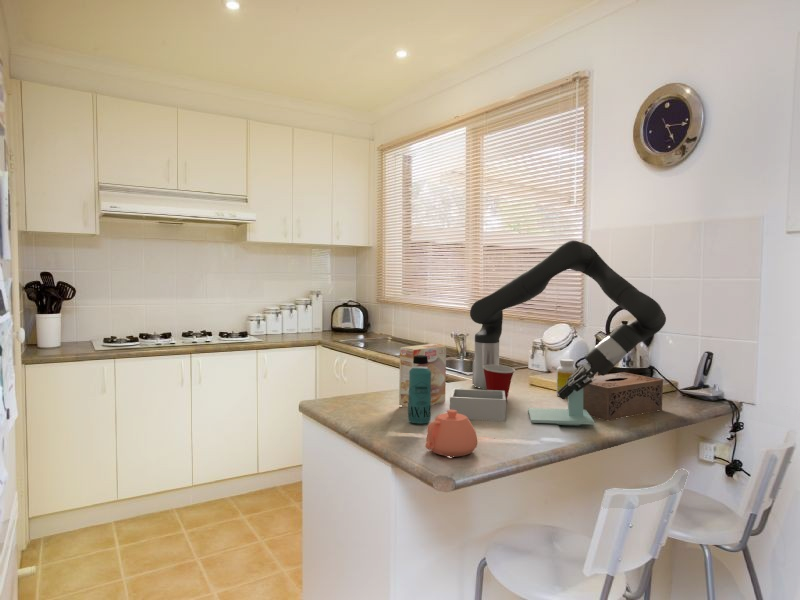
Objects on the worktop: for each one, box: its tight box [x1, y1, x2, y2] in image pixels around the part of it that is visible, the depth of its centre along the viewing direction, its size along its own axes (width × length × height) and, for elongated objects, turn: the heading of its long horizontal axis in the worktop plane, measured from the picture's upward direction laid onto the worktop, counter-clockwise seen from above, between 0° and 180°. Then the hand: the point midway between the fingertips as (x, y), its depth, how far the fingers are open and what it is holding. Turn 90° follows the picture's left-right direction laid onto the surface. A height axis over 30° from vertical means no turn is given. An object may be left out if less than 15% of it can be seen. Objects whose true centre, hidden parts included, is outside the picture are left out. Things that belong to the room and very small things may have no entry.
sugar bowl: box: [425, 409, 478, 457], centre depth 126 cm, size 12×14×10 cm
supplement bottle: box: [556, 358, 577, 399], centre depth 186 cm, size 7×7×13 cm
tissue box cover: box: [583, 371, 664, 421], centre depth 167 cm, size 26×14×10 cm, turn 119°
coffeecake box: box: [398, 343, 447, 408], centre depth 171 cm, size 15×7×20 cm, turn 131°
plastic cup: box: [482, 364, 516, 402], centre depth 176 cm, size 11×11×12 cm
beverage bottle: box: [407, 355, 432, 424], centre depth 148 cm, size 6×7×20 cm
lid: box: [527, 384, 595, 426], centre depth 153 cm, size 17×13×11 cm
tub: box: [449, 388, 507, 422], centre depth 158 cm, size 16×12×7 cm
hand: (560, 396), depth 153 cm, fingers closed on lid, 1 cm apart
